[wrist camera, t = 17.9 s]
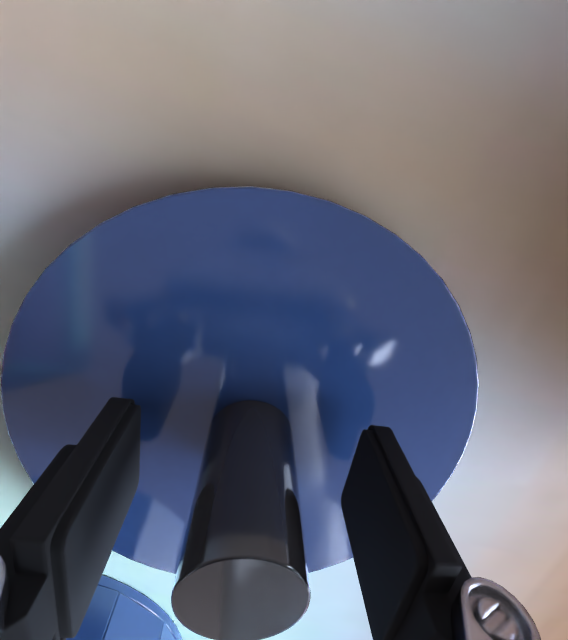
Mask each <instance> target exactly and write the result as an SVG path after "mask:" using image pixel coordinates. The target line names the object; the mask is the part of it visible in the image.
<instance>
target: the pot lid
mask: <svg viewBox="0 0 568 640" xmlns="http://www.w3.org/2000/svg"><path fill="white" fill-rule="evenodd" d="M478 388H479V381H478V369H477V358H476V354H475V350H474V346H473V341H472V337H471V333H470V330H469V328H468V325H467V323H466V321H465V318H464V316H463V314H462V311H461V309H460V307H459V305H458V303H457V301H456V300H455V298H454V297H453V295H452V294H451V292H450V290H449V289H448V287H447V286H446V284H445V283H444V281H443V279H442V278H441V277H440V276H439V275H438V274H437V273H436V272H435V270H434V269H433V268H432V267H431V266H430V265H429V264H428V262H427V261H426V260H425V259H424V258H423V257H422V256H421V255H420V254H419V253H418V252H416V251H415V250H414V249H413V248H412V247H410V246H409V245H408V244H407V243H406V242H404V241H403V240H402V239H401V238H400V237H398V236H397V235H396V234H395V233H393V232H391V231H390V230H388V229H386V228H385V227H383V226H381V225H380V224H378V223H376V222H375V221H373V220H371V219H370V218H368V217H366V216H365V215H362V214H360V213H358V212H355V211H353V210H350V209H348V208H346V207H343V206H341V205H339V204H336V203H334V202H331V201H329V200H325V199H321V198H317V197H313V196H309V195H306V194H302V193H298V192H294V191H289V190H281V189H272V188H263V187H254V186H245V187H212V188H206V189H200V190H194V191H188V192H182V193H176V194H171V195H168V196H165V197H162V198H159V199H156V200H152V201H149V202H146V203H143V204H140V205H137V206H134V207H132V208H130V209H128V210H126V211H124V212H122V213H120V214H118V215H116V216H114V217H112V218H110V219H108V220H106V221H104V222H102V223H100V224H98V225H97V226H95V227H94V228H93V229H91V230H90V231H88V232H87V233H86V234H84V235H83V236H81V237H80V238H78V239H77V240H76V241H74V242H73V243H71V244H70V245H69V246H68V247H67V248H66V249H65V250H64V251H63V252H62V253H61V254H60V255H59V256H58V257H57V258H56V259H55V260H54V261H53V262H52V263H51V264H50V265H49V266H48V267H47V268H45V270H44V271H43V273H42V274H41V275H40V277H39V278H38V279H37V281H36V282H35V284H34V285H33V286H32V288H31V289H30V290H29V292H28V293H27V295H26V296H25V298H24V300H23V302H22V304H21V306H20V308H19V310H18V313H17V315H16V317H15V319H14V321H13V323H12V325H11V329H10V332H9V336H8V339H7V343H6V346H5V350H4V353H3V363H2V373H1V394H2V409H3V413H4V417H5V421H6V425H7V430H8V434H9V437H10V439H11V442H12V444H13V446H14V449H15V451H16V454H17V456H18V459H19V460H20V462H21V464H22V466H23V467H24V469H25V471H26V472H27V474H28V476H29V477H30V479H31V481H32V482H33V483H34V484H35V482H36V481H37V480H38V479H39V477H40V476H41V475H42V473H43V472H44V471H45V469H46V468H47V467H48V465H49V464H50V463H51V461H52V460H53V459H54V457H55V456H56V455H57V454H58V452H59V451H60V450H61V449H62V448H63V447H64V446H65V445H67V444H71V445H77V444H78V443H79V441H80V440H81V438H82V437H83V436H84V434H85V433H86V431H87V430H88V429H89V427H90V426H91V424H92V423H93V422H94V420H95V419H96V417H97V416H98V414H99V413H100V412H101V410H102V409H103V407H104V406H105V405H106V403H107V402H108V400H109V399H110V398H111V397H118V398H127V399H133V400H134V402H135V405H140V406H141V431H140V472H139V483H138V487H137V490H136V493H135V496H134V498H133V500H132V503H131V505H130V508H129V510H128V513H127V515H126V517H125V520H124V522H123V525H122V527H121V529H120V532H119V534H118V537H117V539H116V542H115V544H114V546H113V549H112V551H114V552H116V553H118V554H120V555H123V556H125V557H127V558H129V559H131V560H134V561H136V562H139V563H142V564H144V565H147V566H150V567H153V568H156V569H160V570H163V571H167V572H171V573H174V574H176V577H175V582H174V586H173V591H172V596H171V603H172V608H173V612H174V614H175V616H176V617H177V619H178V620H179V621H180V622H181V623H182V624H183V625H184V626H185V627H186V628H188V629H189V630H191V631H193V632H194V633H196V634H199V635H201V636H204V637H207V638H210V639H214V640H261V639H265V638H268V637H271V636H274V635H277V634H279V633H281V632H283V631H285V630H287V629H289V628H290V627H292V626H293V625H294V624H296V623H297V622H298V621H299V620H300V619H301V618H302V617H303V615H304V614H305V612H306V611H307V608H308V606H309V602H310V597H311V592H310V583H309V574H308V573H309V572H313V571H317V570H321V569H324V568H327V567H330V566H333V565H336V564H338V563H341V562H344V561H346V560H348V559H351V558H353V554H352V549H351V545H350V541H349V537H348V533H347V529H346V524H345V520H344V516H343V512H342V507H341V495H342V492H343V489H344V485H345V482H346V479H347V476H348V473H349V470H350V467H351V464H352V460H353V457H354V454H355V451H356V448H357V445H358V442H359V438H360V435H361V432H362V431H363V430H364V429H366V430H367V429H368V427H369V426H370V425H376V426H385V427H390V428H391V430H392V431H393V433H394V435H395V437H396V439H397V441H398V443H399V445H400V447H401V449H402V451H403V453H404V454H405V456H406V458H407V460H408V462H409V464H410V466H411V468H412V470H413V472H414V474H415V476H416V477H417V478H418V479H419V480H420V481H421V483H422V484H423V486H424V488H425V490H426V492H427V494H428V496H429V498H430V500H431V501H432V500H433V499H434V498H435V497H436V496H437V495H438V494H439V492H440V491H441V489H442V488H443V487H444V485H445V484H446V483H447V481H448V480H449V479H450V477H451V476H452V474H453V472H454V470H455V468H456V467H457V465H458V463H459V461H460V459H461V458H462V456H463V453H464V451H465V448H466V446H467V443H468V440H469V438H470V435H471V432H472V428H473V424H474V419H475V415H476V411H477V401H478Z"/></svg>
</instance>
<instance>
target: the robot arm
mask: <svg viewBox="0 0 568 640" xmlns="http://www.w3.org/2000/svg"><path fill="white" fill-rule="evenodd" d="M140 431H141V406H140V405H135V402H134V400H133V399H127V398H118V397H111V398H110V399H109V400H108V402H107V403H106V405H105V406H104V407H103V409H102V410H101V412H100V413H99V414H98V416H97V417H96V419H95V420H94V422H93V423H92V424H91V426H90V427H89V429H88V430H87V431H86V433H85V434H84V436H83V437H82V438H81V440H80V441H79V443H78V444H77V445H71V444H67V445H65V446H64V447H63V448H62V449H61V450H60V451H59V452H58V454H57V455H56V456H55V457H54V459H53V460H52V461H51V463H50V464H49V465H48V467H47V468H46V469H45V471H44V472H43V473H42V475H41V476H40V477H39V479H38V480H37V481H36V482H35V484H34V485H33V486H32V488H31V489H30V490H29V492H28V493H27V494H26V496H25V497H24V498H23V500H22V501H21V502H20V503H19V505H18V506H17V507H16V509H15V510H14V511H13V513H12V514H11V515H10V517H9V518H8V519H7V521H6V522H5V523H4V525H3V526H2V527H1V528H0V640H66V638H74V637H75V636H76V635H77V633H78V631H79V629H80V626H81V624H82V622H83V619H84V617H85V614H86V612H87V609H88V607H89V605H90V602H91V600H92V597H93V595H94V593H95V590H96V588H97V585H98V583H99V580H100V578H101V576H102V573H103V571H104V568H105V566H106V563H107V561H108V559H109V556H110V554H111V551H112V549H113V546H114V544H115V542H116V539H117V537H118V534H119V532H120V529H121V527H122V525H123V522H124V520H125V517H126V515H127V513H128V510H129V508H130V505H131V503H132V500H133V498H134V496H135V493H136V490H137V487H138V483H139V472H140ZM341 507H342V512H343V516H344V520H345V524H346V529H347V533H348V537H349V541H350V545H351V549H352V554H353V558H354V562H355V566H356V570H357V575H358V579H359V583H360V587H361V591H362V595H363V600H364V604H365V608H366V612H367V616H368V621H369V625H370V629H371V633H372V637H373V640H541V638H540V634H539V632H538V630H537V627H536V625H535V623H534V621H533V619H532V618H531V616H530V615H529V613H528V612H527V610H526V609H525V607H524V606H523V605H522V604H521V603H520V602H519V601H518V600H517V599H516V598H515V596H513V595H512V594H511V593H510V592H508V591H507V590H506V589H505V588H503V587H502V586H500V585H498V584H497V583H495V582H493V581H491V580H488V579H485V578H481V577H473V578H471V576H470V574H469V572H468V570H467V568H466V566H465V564H464V562H463V560H462V559H461V557H460V555H459V553H458V551H457V549H456V547H455V545H454V543H453V541H452V540H451V538H450V536H449V534H448V532H447V530H446V528H445V526H444V524H443V522H442V521H441V519H440V517H439V515H438V513H437V511H436V509H435V507H434V505H433V503H432V502H431V500H430V498H429V496H428V494H427V492H426V490H425V488H424V486H423V484H422V483H421V481H420V480H419V479H418V478H417V477H416V476H415V474H414V472H413V470H412V468H411V466H410V464H409V462H408V460H407V458H406V456H405V454H404V453H403V451H402V449H401V447H400V445H399V443H398V441H397V439H396V437H395V435H394V433H393V431H392V430H391V428H390V427H385V426H376V425H370V426H369V427H368V429H367V430H366V429H364V430H363V431H362V432H361V435H360V438H359V442H358V445H357V448H356V451H355V454H354V457H353V460H352V464H351V467H350V470H349V473H348V476H347V479H346V482H345V485H344V489H343V492H342V495H341Z"/></svg>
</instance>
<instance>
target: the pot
mask: <svg viewBox="0 0 568 640" xmlns="http://www.w3.org/2000/svg"><path fill="white" fill-rule="evenodd" d="M66 640H182V637H181V635H180V633H179V631H178V629H177V626H176V625H175V624H174V622H173V621H172V619H171V618H170V617H169V615H168V614H167V613H166V612H165V611H164V610H163V609H161V608H160V607H159V606H158V605H157V604H156V603H155V602H153V601H152V600H151V599H149V598H148V597H147V596H145V595H143V594H142V593H140V592H138V591H137V590H135V589H133V588H132V587H130V586H128V585H125V584H123V583H121V582H119V581H117V580H114V579H112V578H109V577H107V576H104V575H102V576H101V578H100V580H99V583H98V585H97V588H96V590H95V593H94V595H93V597H92V600H91V602H90V605H89V607H88V609H87V612H86V614H85V617H84V619H83V622H82V624H81V626H80V629H79V631H78V633H77V635H76V636H75V637H74V638H66Z"/></svg>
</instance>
